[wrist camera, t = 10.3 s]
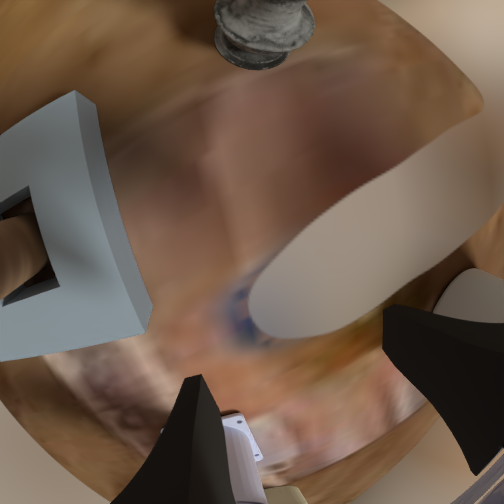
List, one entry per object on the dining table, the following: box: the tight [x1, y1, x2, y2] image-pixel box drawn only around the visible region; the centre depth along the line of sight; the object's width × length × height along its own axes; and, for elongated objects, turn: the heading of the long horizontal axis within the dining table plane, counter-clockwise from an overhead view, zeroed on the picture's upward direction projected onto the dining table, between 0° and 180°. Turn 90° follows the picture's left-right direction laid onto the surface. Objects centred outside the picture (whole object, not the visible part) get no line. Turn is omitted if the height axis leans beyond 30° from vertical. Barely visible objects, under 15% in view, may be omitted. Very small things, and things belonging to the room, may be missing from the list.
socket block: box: [0, 90, 153, 362], centre depth 13 cm, size 14×14×4 cm
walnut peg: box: [0, 211, 51, 300], centre depth 11 cm, size 4×4×7 cm
